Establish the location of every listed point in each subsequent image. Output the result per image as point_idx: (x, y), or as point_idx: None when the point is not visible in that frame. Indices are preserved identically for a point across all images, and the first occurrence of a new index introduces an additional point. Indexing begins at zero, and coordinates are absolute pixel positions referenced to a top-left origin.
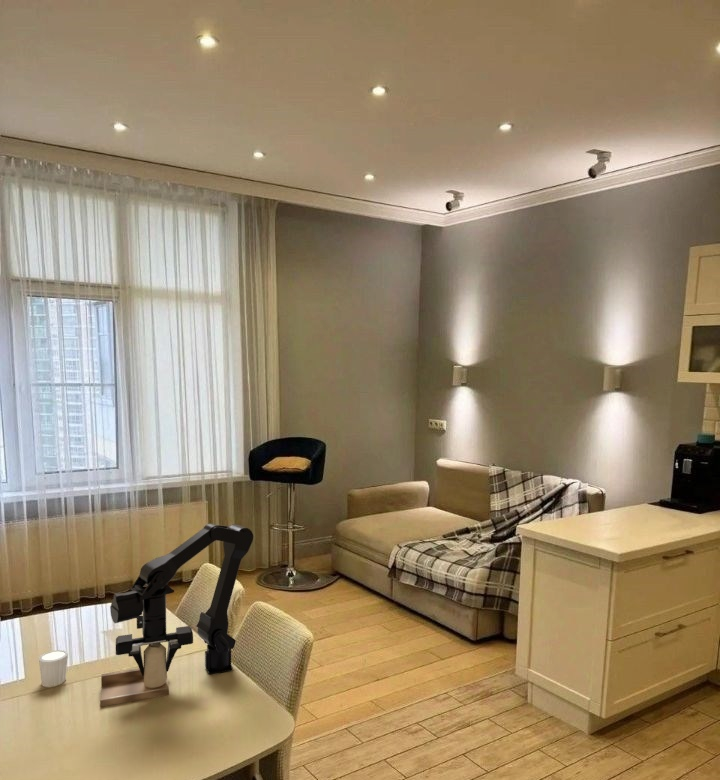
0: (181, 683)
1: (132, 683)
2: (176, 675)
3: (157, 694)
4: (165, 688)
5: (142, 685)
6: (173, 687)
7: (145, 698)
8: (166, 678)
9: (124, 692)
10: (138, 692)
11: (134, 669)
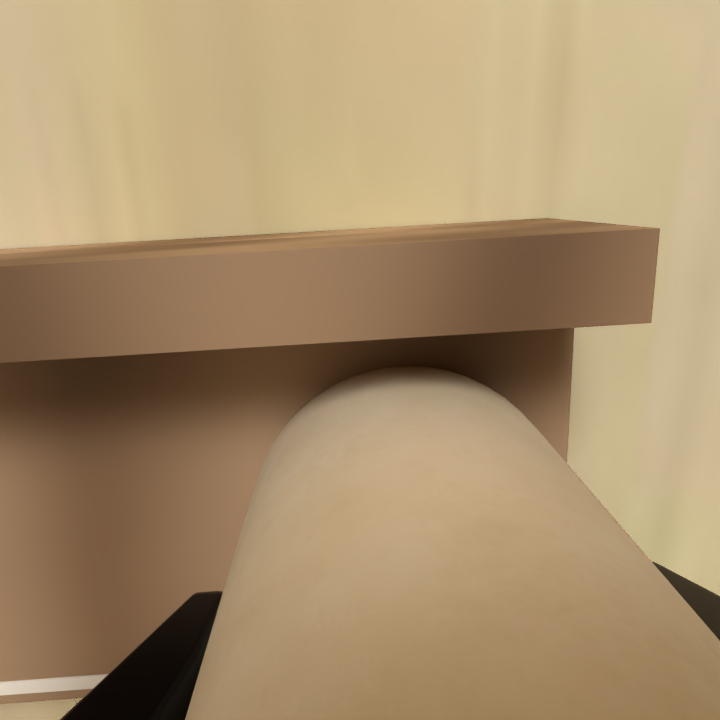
0: (701, 411)
1: (90, 414)
2: (685, 166)
3: None
4: None
5: (239, 511)
6: (599, 478)
7: None
8: (559, 407)
9: (31, 621)
10: None
11: (11, 293)
